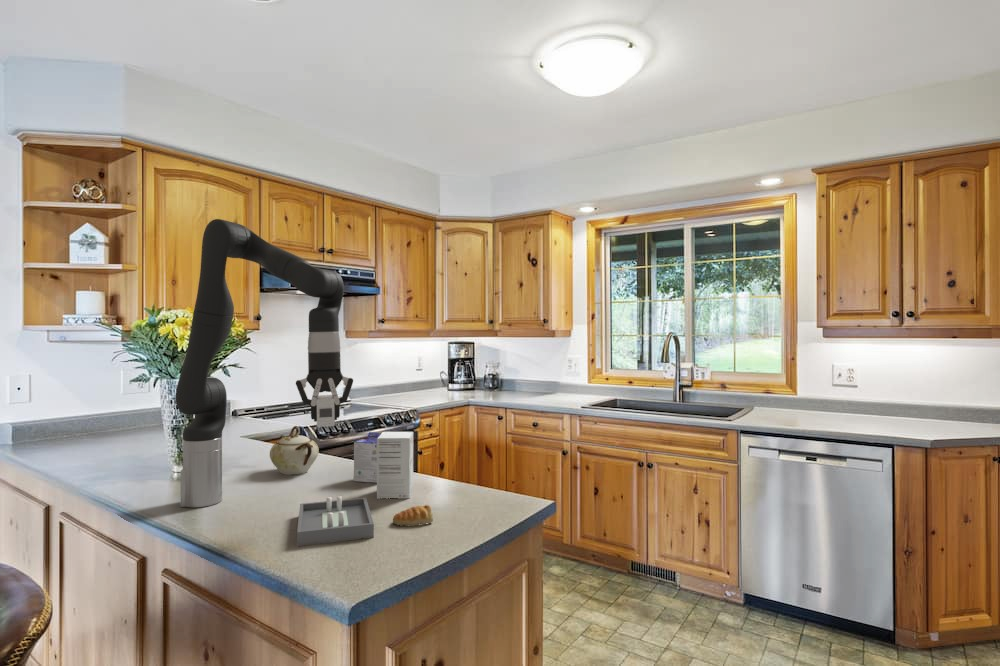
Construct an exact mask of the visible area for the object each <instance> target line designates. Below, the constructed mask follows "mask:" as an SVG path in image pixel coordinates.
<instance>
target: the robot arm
mask: <svg viewBox="0 0 1000 666" xmlns="http://www.w3.org/2000/svg"><path fill="white" fill-rule="evenodd" d="M201 242H202V243H201V256H200V257H201V258H200V269H199V270H200V273H199V278H198V287H197V294H196V299H195V304H194V308H193V309H194V310H193V314H192V320H191V326H190V334H189V338H188V344H187V348H186V353H185V357H184V362H183V365H182V368H181V371H180V375H179V378H178V382H177V386H176V390H175V405H176V406H177V409H178V411H179V412H180V413H182V414H184V415H186V416H187V415H188V416H189V415H190V416H191V415H195V417H194V419H193V420H192V422H190V424H188V425H187V426H186V427H184V429H183V430H182V468H181V470H180V508H185V507H186V508H202V507H209V506H214V505H216V504H218V503H220V502H221V501H223V430H224V428H225V426H226V419H227V399H228V397H227V390H226V386H225V384H224V383H223V382H222V380H221V379H219V378H217V377H214V376H213V377H212V376H211V377H209V372H210V367H211V365H212V362H213V360H214V358H215V357H216V356H217V354H218V352H220V350H221V348H222V347H223V345H224V344H225V343H226V341H227V339H228V337H229V335H230V333H231V330H232V325H233V319H234V313H235V312H234V311H235V304H234V301H233V298H232V296H231V292H230V290H229V287H228V284H227V280H226V268H227V267H226V266H227V260H228V258H230V259H242V260H245V261H250V262H253V263H256V264H258V265H260V266H262V267H263V268H264V269H265V270H266V272H268V273H269V274H270V275H273V276H274V277H276V278H277V279H280V280H282V281H284V282H286V283H288V284H291V285H292V286H293V287H295V288H296V289H298V291H300V292H301V293H303V294H305V295H306V296H310V297H312V298H317V299H318V304H317V307H315V308H312V309H310V310H309V313H308V340H307V360H308V361H307V364H308V365H307V368H308V369H307V370H308V371H307V372H308V373H307V375H306V377H305V378H302V379H297V380H295V385H296V388H297V391H298V393H299V396H300V398H301V401H302V403H303V405H308V406H310V419H311V420H313V422H316V423H317V405H316V402H317V401H316V398H318V396H320V393H324V392H326V393H327V392H328V393H331V395H332V396H333V397H334V411H335V421H337V420H338V419H339V418H340V416H341V415H340V414H341V413H340V407H341V406H340V405H341V404H343V403H346V402H347V401H348V399H349V395H350V393H351V389H352V386H353V383H354V379H353V378H352V377H348V376H343V373H342V372H341V367H342V366H341V340H340V332H339V331H340V325H339V323H340V320H339V315H340V311H341V306H342V302H343V298H344V293H345V285H344V281H343V278H342V276H341V275H340V274H339V273H338V272H337V271H334V270H331V269H326V268H325V269H324V268H318V267H316V266H313V265H311V264H310V263H309V262H308V261H307V260H306V259H304V258H302V257H300V256H298V255H296V254H294V253H292V252H289V251H287V250H284V249H283V248H280V247H277V246H276V245H273V244H271V243H270V242H267V240H265V239H264V238H262V237H260V236H259V235H258V234H257V233H255V232H253V230H251V229H249V228H248V227H246V226H244V225H243V224H240V223H237V222H233V221H229V220H226V219H219V218H214V219H212V220H211V221H209V223H208V224H206V226H205V228H204V232H203V236H202V241H201ZM341 382H343V386H345V387H344V390H343V393H342V396H340V397H339V395H338V392H337V388H338V386H339V385H340V384H341ZM307 383H308V384H309V385H310V386H311V387H312V389H313V392H312V398H311V399H309V398H308V396H307V393H306V391H305V388H306V387H307Z"/></svg>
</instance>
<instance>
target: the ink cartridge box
mask: <svg viewBox="0 0 1000 666" xmlns="http://www.w3.org/2000/svg"><path fill="white" fill-rule="evenodd" d="M372 435H374V436H372ZM379 436H380V432H374V431H373V432H370V431H369V432H368V433H367V438H366V439H358V440H356V441H354V442H353V482H361V483H375V484H377V438H378V437H379Z"/></svg>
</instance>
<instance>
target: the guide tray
mask: <svg viewBox="0 0 1000 666" xmlns="http://www.w3.org/2000/svg"><path fill="white" fill-rule="evenodd" d="M332 499H333V498H332V497H331V496H328V497H326V501H316V502H303V503H300V504H299V510H298V511H299V512H298V519H297V520H298V521H297V528H296V529H297V532H296V535H297V536H296V538H297V539H296V547H302V546H310V545H319V544H320V543H321V544H328V543H329V542H330V543H336V542H345V541H346V542H347V541H354V540H355V541H356V540H362V539H361V538H364V539H369V538H368V537H372V538H374V535H375V533H374V529H375V528H374V527H375V526H374V525H375V524H374V520H373V516H372V513H371V510H370V506H369V503H368V500H367V497H360V498H359V497H358V498H348V499H343V496H341V495H340V496H337V497H336V499H335V500H332Z"/></svg>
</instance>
